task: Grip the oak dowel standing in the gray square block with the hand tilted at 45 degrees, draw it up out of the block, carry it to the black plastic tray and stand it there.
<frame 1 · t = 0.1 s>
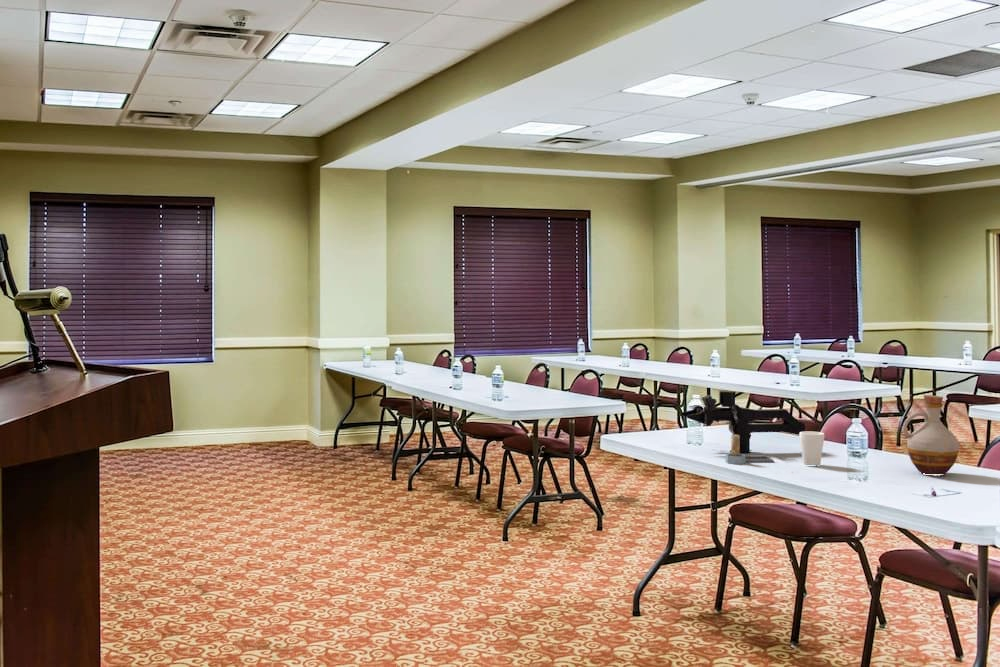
hand: (684, 415, 397), 17 cm above the table, tool horizontal, fingers open, 9 cm apart
gray square block: (735, 464, 369), on the table
tray: (756, 462, 373), on the table
foam cup: (811, 465, 367), on the table
jug: (929, 474, 347), on the table
dowel: (735, 462, 369), point 1 cm above the table, touching gray square block
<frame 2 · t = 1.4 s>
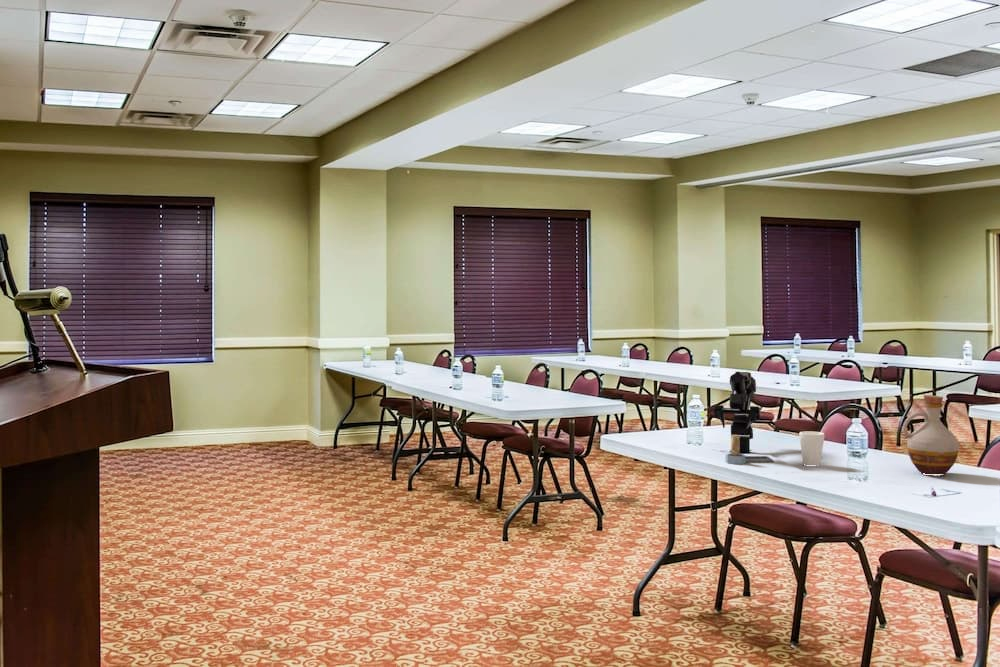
hand: (735, 427, 376), 14 cm above the table, tool tilted 45°, fingers open, 9 cm apart
nothing on the table moved.
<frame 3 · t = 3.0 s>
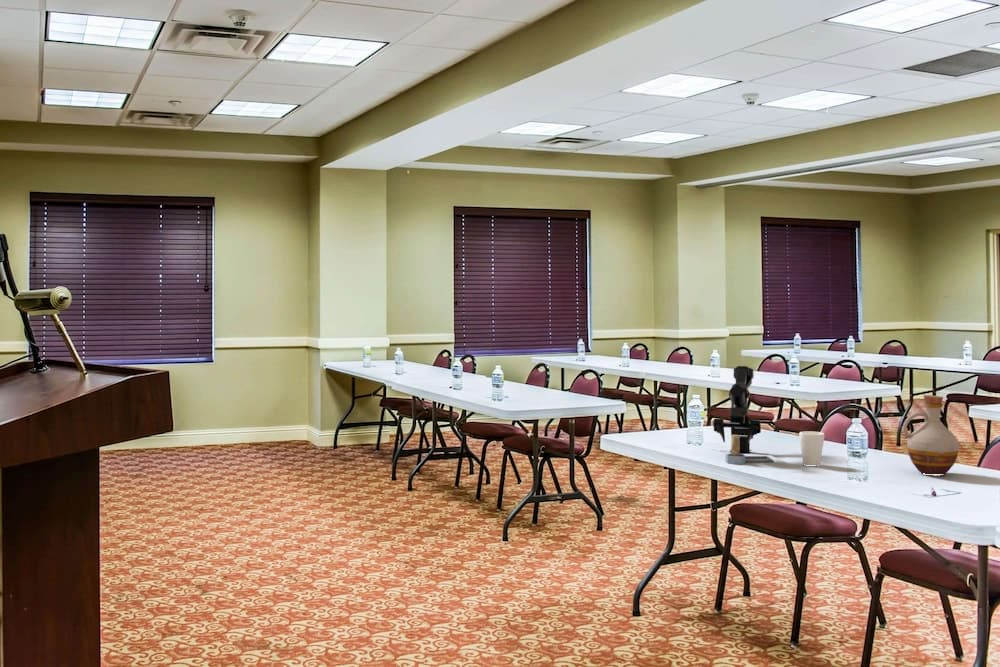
hand: (735, 442, 369), 9 cm above the table, tool tilted 45°, fingers open, 9 cm apart
nothing on the table moved.
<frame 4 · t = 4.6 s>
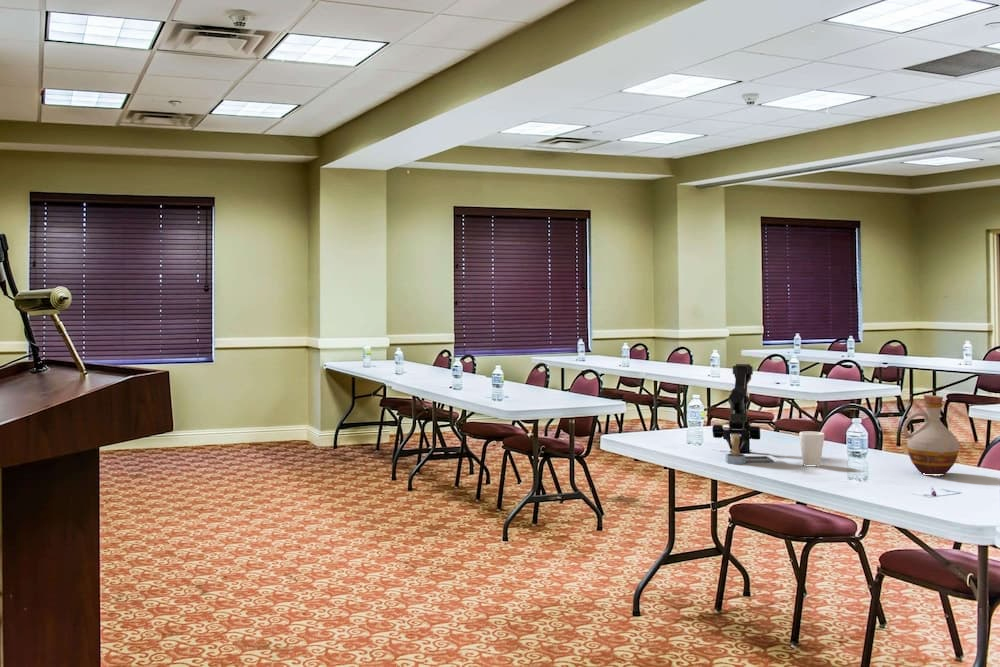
hand: (735, 448, 367), 7 cm above the table, tool tilted 45°, fingers closed on dowel, 3 cm apart
dowel: (735, 462, 369), point 1 cm above the table, touching gripper, gray square block
everything else where it was.
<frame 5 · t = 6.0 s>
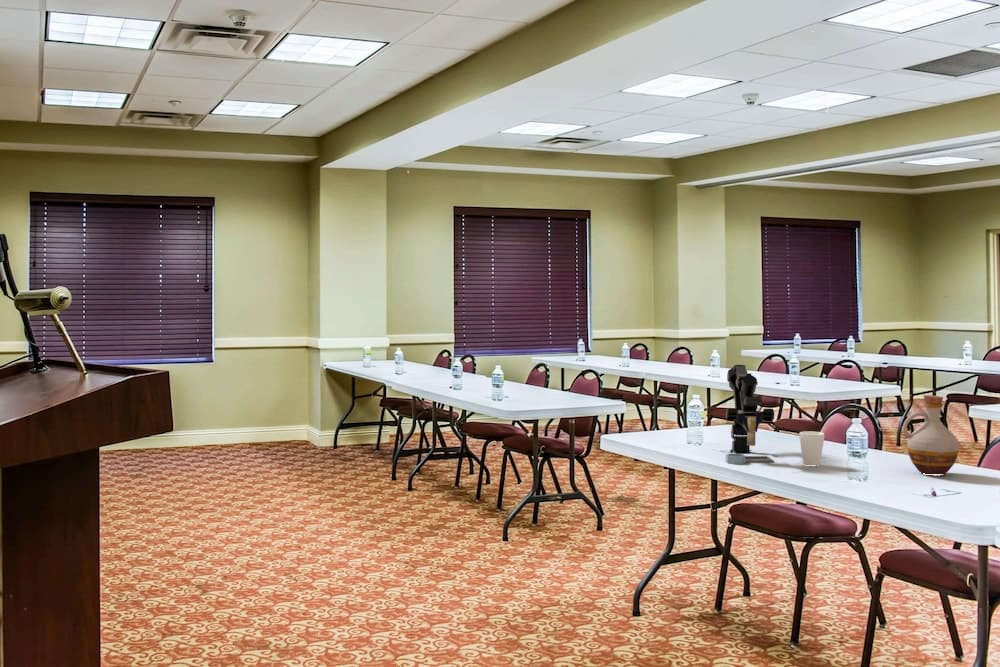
hand: (752, 431, 370), 13 cm above the table, tool tilted 45°, fingers closed on dowel, 3 cm apart
dowel: (751, 445, 371), point 8 cm above the table, touching gripper
everything else where it was.
when the fingers open (8 cm above the table, at t = 7.8 s): dowel drops 1 cm, resting on tray.
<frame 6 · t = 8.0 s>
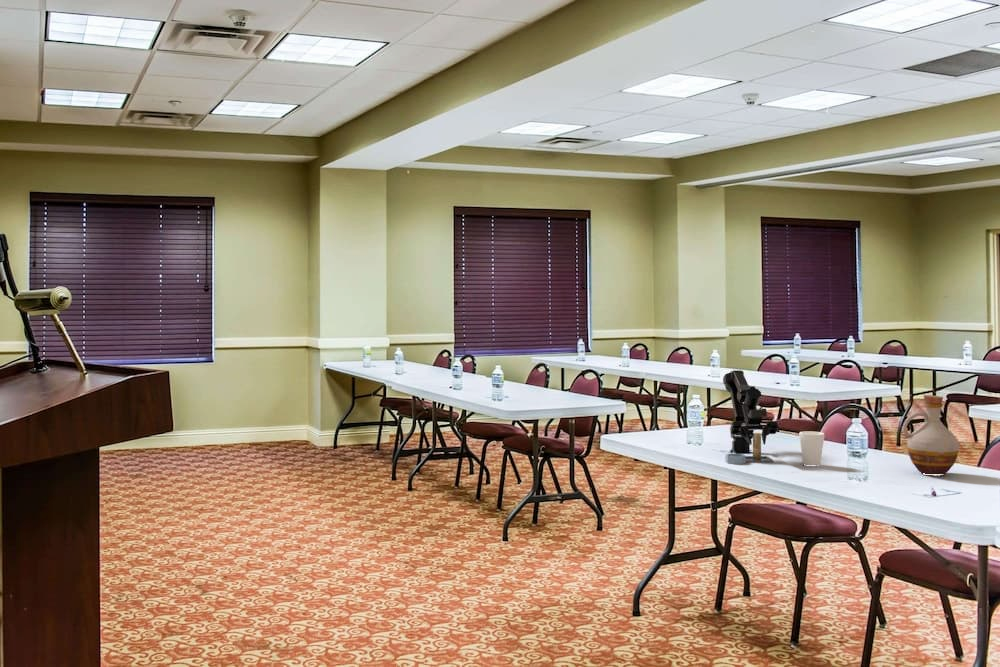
hand: (757, 444, 371), 8 cm above the table, tool tilted 45°, fingers open, 5 cm apart
dowel: (756, 460, 373), point 1 cm above the table, touching tray
everything else where it was.
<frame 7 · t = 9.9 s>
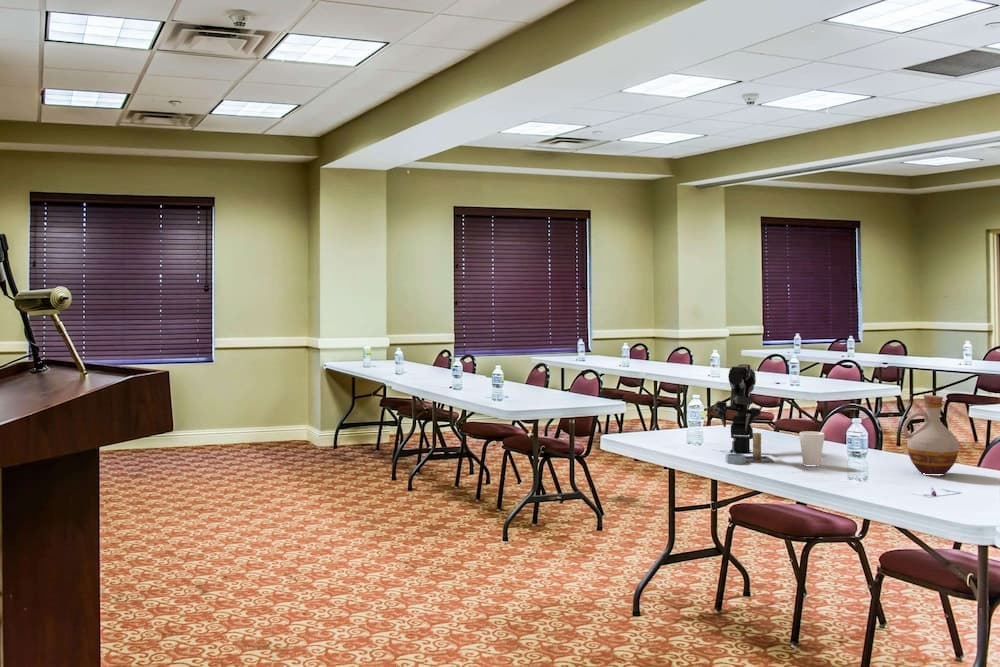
hand: (735, 429, 379), 13 cm above the table, tool tilted 30°, fingers open, 9 cm apart
nothing on the table moved.
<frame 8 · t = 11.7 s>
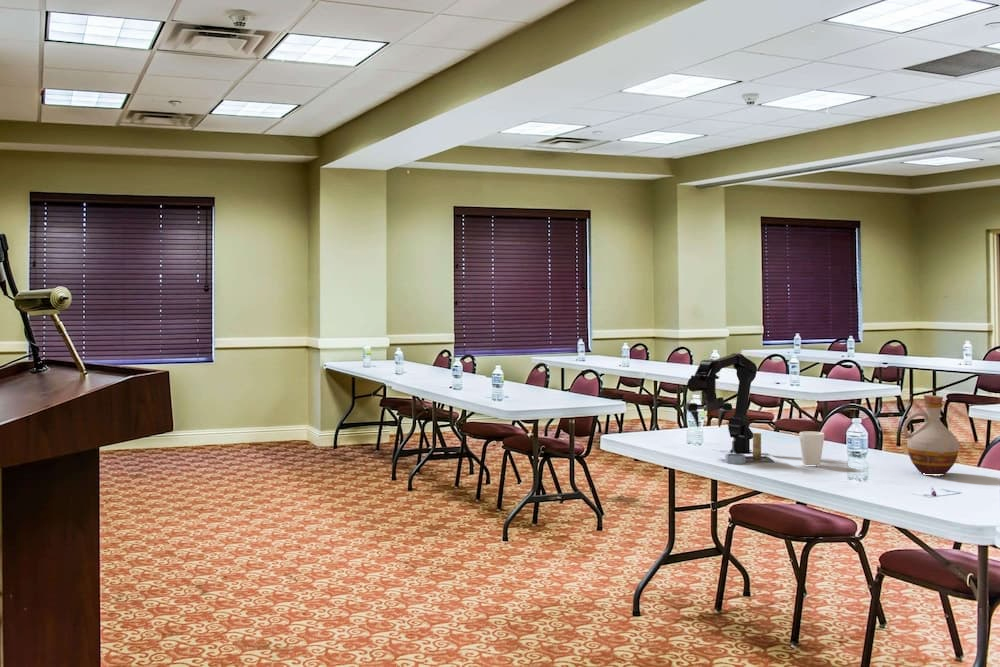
hand: (708, 427, 385), 13 cm above the table, tool pointing down, fingers open, 9 cm apart
nothing on the table moved.
at the end: dowel 0.0 cm from the tray (horizontally); dowel point 1.0 cm above the table; the gripper is holding nothing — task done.
